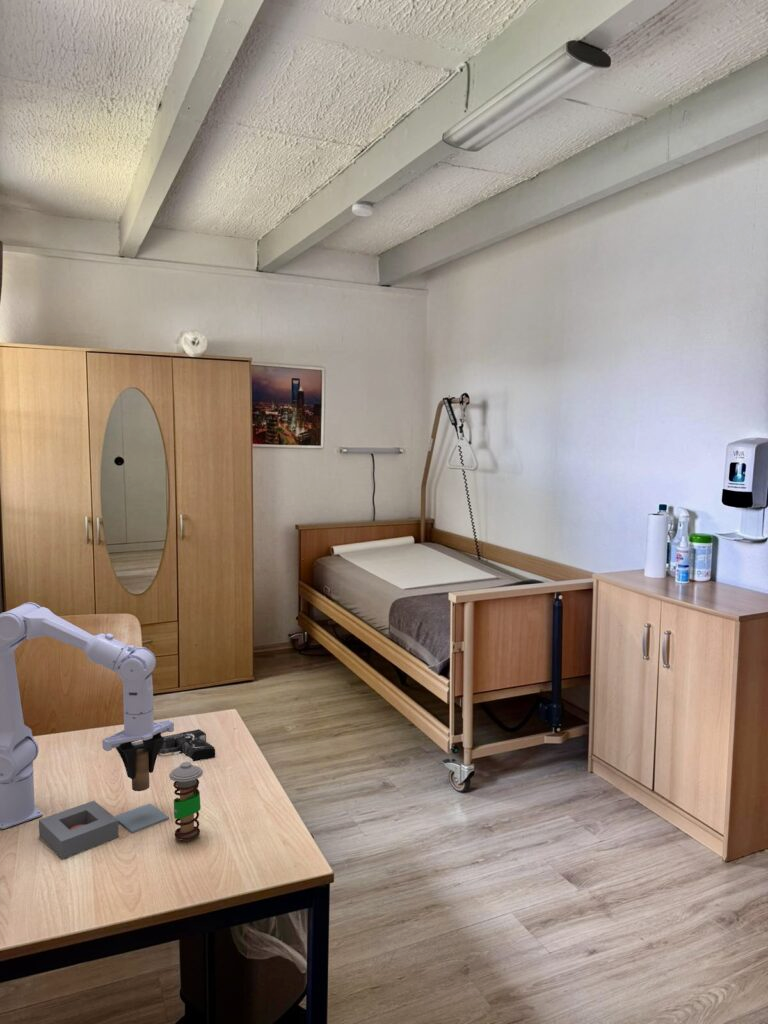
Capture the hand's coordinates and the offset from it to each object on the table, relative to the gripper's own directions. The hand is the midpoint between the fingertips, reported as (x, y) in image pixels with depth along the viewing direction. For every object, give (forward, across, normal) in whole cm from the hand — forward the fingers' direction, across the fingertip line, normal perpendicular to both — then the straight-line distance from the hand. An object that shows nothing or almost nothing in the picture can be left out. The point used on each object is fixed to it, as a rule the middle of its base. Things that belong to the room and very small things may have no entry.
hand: (140, 774), depth 150 cm
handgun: (+10, +20, +24) cm, 33 cm away
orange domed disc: (+9, -12, +2) cm, 15 cm away
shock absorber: (+10, +3, -13) cm, 17 cm away
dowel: (+3, 0, 0) cm, 3 cm away
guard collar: (+10, -12, +2) cm, 15 cm away
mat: (+10, 0, 0) cm, 10 cm away
